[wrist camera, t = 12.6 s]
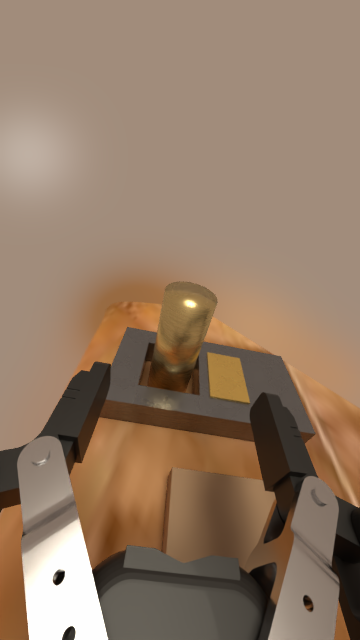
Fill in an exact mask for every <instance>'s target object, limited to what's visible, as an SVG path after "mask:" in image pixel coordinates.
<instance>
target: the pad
mask: <svg viewBox="0 0 360 640" xmlns="http://www.w3.org/2000/svg"><path fill="white" fill-rule="evenodd" d="M275 499H276V497H275V493H274V492H269V491H265V488H264V483H263V480H257V479H251V478H244V477H237V476H230V475H223V474H216V473H209V472H202V471H195V470H189V469H182V468H175V467H172V469H171V472H170V474H169V476H168V484H167V496H166V508H165V520H164V532H163V544H162V552H163V553H165V554H167V555H169V556H170V557H172V558H174V559H176V560H178V561H180V562H182V563H187V562H190V561H193V560H197V559H200V558H204V557H207V556H211V555H214V556H222V557H231V558H238V561H239V566H240V567H241V568H243V569H244V567H245V565H246V562H247V560H248V558H249V556H250V554H251V552H252V551H253V549H254V548H255V547H256V545H257V544H258V542H259V539H260V537H261V534H262V531H263V528H264V526H265V523H266V520H267V518H268V515H269V512H270V509H271V507H272V504H273V502H274V500H275Z"/></svg>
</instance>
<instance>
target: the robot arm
mask: <svg viewBox="0 0 360 640" xmlns="http://www.w3.org/2000/svg"><path fill="white" fill-rule="evenodd" d="M110 377H111V364H107V363H102V362H94V364H93V366H92V368H91V370H90V372H89V371H83V370H81V371H80V372H79V373H78V374H77V375H75V376H74V377H73V378H72V380H71V381H70V383H69V385H68V387H67V389H66V390H65V392H64V394H63V395H62V398H61V399H60V401H59V402H58V404H57V406H56V408H55V409H54V411H53V413H52V415H51V416H50V418H49V420H48V422H47V423H46V425H45V427H44V429H43V430H42V432H41V433H40V434H39V435H38V436H37V437H36V438H35V439H34V440H33V441H31V442H30V443H28V444H26V445H24V446H22V447H19V448H15V449H9V450H3V451H0V512H1V510H2V509H3V508H7V507H11V506H15V505H18V504H21V509H22V519H23V534H22V539H21V550H22V562H23V573H24V585H25V596H26V607H27V618H28V629H29V640H334V635H335V625H336V616H337V607H338V599H339V603H340V606H341V610H342V613H343V616H344V620H345V623H346V626H347V630H348V633H349V636H350V640H360V507H359V508H358V507H356V506H354V505H352V504H350V503H348V502H346V501H344V500H342V499H340V498H339V497H337V496H335V495H334V493H333V492H332V490H331V489H330V488H329V486H328V485H327V484H326V483H325V482H323V481H322V480H321V479H319V478H318V476H317V474H316V472H315V469H314V467H313V464H312V462H311V459H310V456H309V454H308V451H307V449H306V446H305V444H304V441H303V439H302V438H301V437H302V436H301V434H300V431H299V430H298V426H297V423H296V421H295V418H294V416H293V415H292V414H291V412H290V411H289V410H288V408H287V407H284V406H283V405H282V402H281V400H280V397H279V396H278V395H276V394H271V393H265V392H262V393H261V394H260V395H259V397H258V398H257V400H256V401H255V403H254V404H253V406H252V407H251V409H250V423H251V427H252V432H253V437H254V441H255V446H256V450H257V455H258V460H259V464H260V469H261V474H262V478H263V483H264V488H265V491H269V492H274V493H275V497H276V499H275V500H274V502H273V504H272V507H271V509H270V512H269V515H268V518H267V520H266V523H265V526H264V528H263V531H262V534H261V537H260V539H259V542H258V544H257V545H256V547H255V548H254V549H253V551H252V552H251V554H250V556H249V558H248V560H247V562H246V565H245V567H244V569H243V568H241V567H240V566H239V561H238V558H231V557H222V556H214V555H211V556H207V557H204V558H200V559H197V560H193V561H190V562H187V563H182V562H180V561H178V560H176V559H174V558H172V557H170V556H169V555H167V554H165V553H163V552H161V551H159V550H157V549H155V548H147V547H139V546H131V545H127V547H126V550H125V551H121V552H118V553H116V554H113V555H111V556H110V557H108V558H107V559H105V560H104V561H102V562H101V563H100V564H99V565H97V566H96V567H95V568H94V569H93V570H92V569H91V565H90V561H89V556H88V552H87V548H86V544H85V540H84V536H83V531H82V527H81V523H80V519H79V515H78V511H77V506H76V502H75V498H74V494H73V490H72V485H71V481H70V477H69V475H70V473H71V470H72V468H73V465H74V463H75V462H77V463H82V461H83V458H84V455H85V453H86V450H87V447H88V445H89V442H90V439H91V437H92V434H93V432H94V429H95V426H96V424H97V421H98V418H99V416H100V413H101V410H102V408H103V405H104V403H105V400H106V397H107V395H108V391H109V388H110Z"/></svg>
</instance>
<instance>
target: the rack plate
mask: <svg viewBox="0 0 360 640" xmlns="http://www.w3.org/2000/svg"><path fill="white" fill-rule="evenodd" d="M156 336H157V333H156V332H150V331H145V330H140V329H135V328H129V327H127V329H126V332H125V334H124V336H123V339H122V341H121V344H120V346H119V349H118V351H117V354H116V356H115V359H114V361H113V363H112V366H111V377H110V388H109V391H108V395H107V397H106V400H105V403H104V405H103V408H102V410H101V413H100V416H99V417H104V418H110V419H116V420H122V421H129V422H135V423H141V424H148V425H154V426H160V427H167V428H173V429H179V430H186V431H192V432H198V433H204V434H211V435H217V436H223V437H230V438H236V439H242V440H249V441H254V437H253V432H252V427H251V423H250V409H251V407H252V406H253V404H254V403H255V401H256V400H257V398H258V397H259V395H260V394H261V393H262V392H265V393H271V394H276V395H278V396H279V397H280V400H281V402H282V405H283V406H284V407H287V408H288V410H289V411H290V412H291V414H292V415H293V416H294V418H295V421H296V423H297V426H298V430H299V431H300V434H301V436H302V437H301V438H302V439H303V441H304V444H305V443H306V442H307V441H308V440H309V439H310V438H312V437H313V436H314V435H315V432H314V429H313V427H312V425H311V423H310V420H309V418H308V416H307V414H306V411H305V409H304V407H303V405H302V403H301V400H300V398H299V396H298V394H297V391H296V389H295V387H294V385H293V382H292V380H291V378H290V376H289V374H288V371H287V369H286V367H285V365H284V362H283V360H282V358H281V356H276V355H271V354H265V353H260V352H255V351H250V350H245V349H239V348H234V347H229V346H224V345H218V344H213V343H208V342H203V344H202V347H201V350H200V352H199V355H198V358H197V361H196V364H195V366H194V369H193V394H188V393H182V392H176V391H170V390H165V389H159V388H153V387H147V386H141V385H140V382H141V378H142V374H143V370H144V366H145V362H146V360H149V361H152V358H153V352H154V347H155V341H156Z"/></svg>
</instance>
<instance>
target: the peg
mask: <svg viewBox="0 0 360 640" xmlns="http://www.w3.org/2000/svg"><path fill="white" fill-rule="evenodd" d="M216 305H217V298H216V296H215V295H214V294H213V293H212V292H211V291H210V290H209V289H207V288H205V287H203V286H200V285H198V284H194V283H190V282H174V283H171V284H169V285H168V286H167V287H166V288H165V293H164V298H163V303H162V309H161V314H160V320H159V325H158V331H157V336H156V341H155V347H154V352H153V358H152V363H151V369H150V374H149V379H148V387H153V388H159V389H165V390H170V391H176V392H182V393H185V391H186V389H187V386H188V383H189V380H190V377H191V375H192V372H193V369H194V366H195V364H196V361H197V358H198V355H199V352H200V350H201V347H202V344H203V341H204V338H205V336H206V333H207V330H208V327H209V325H210V322H211V319H212V316H213V313H214V310H215V307H216Z"/></svg>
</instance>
